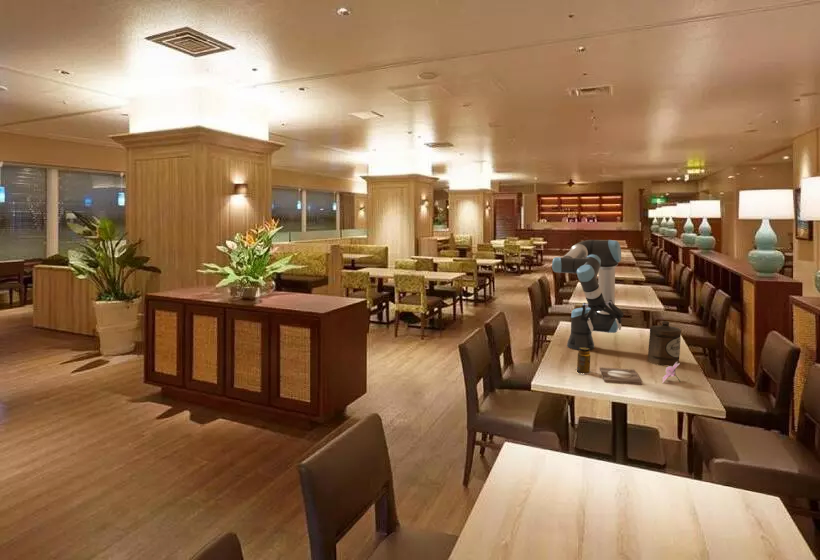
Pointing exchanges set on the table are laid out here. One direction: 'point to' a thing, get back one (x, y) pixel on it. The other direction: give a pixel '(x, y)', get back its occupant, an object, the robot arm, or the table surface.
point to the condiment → (583, 361)
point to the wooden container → (664, 344)
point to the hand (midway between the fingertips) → (606, 329)
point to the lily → (670, 371)
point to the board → (620, 375)
